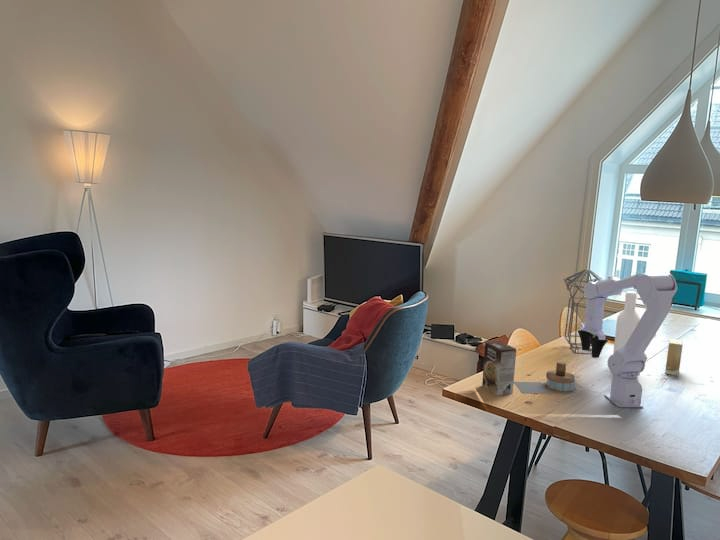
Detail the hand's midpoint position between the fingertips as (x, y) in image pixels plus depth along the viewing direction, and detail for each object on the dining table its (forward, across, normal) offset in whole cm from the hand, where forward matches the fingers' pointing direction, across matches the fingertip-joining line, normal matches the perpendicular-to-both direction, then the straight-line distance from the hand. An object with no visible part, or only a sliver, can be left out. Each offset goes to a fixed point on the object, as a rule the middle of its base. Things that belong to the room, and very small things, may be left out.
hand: (590, 353), depth 182 cm
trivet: (+10, +8, -22) cm, 26 cm away
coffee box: (+11, +10, -35) cm, 38 cm away
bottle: (+11, -14, +20) cm, 27 cm away
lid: (+7, +6, -12) cm, 15 cm away
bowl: (+10, +6, -12) cm, 17 cm away
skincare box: (+11, -11, +37) cm, 40 cm away
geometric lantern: (+11, -35, +13) cm, 39 cm away
